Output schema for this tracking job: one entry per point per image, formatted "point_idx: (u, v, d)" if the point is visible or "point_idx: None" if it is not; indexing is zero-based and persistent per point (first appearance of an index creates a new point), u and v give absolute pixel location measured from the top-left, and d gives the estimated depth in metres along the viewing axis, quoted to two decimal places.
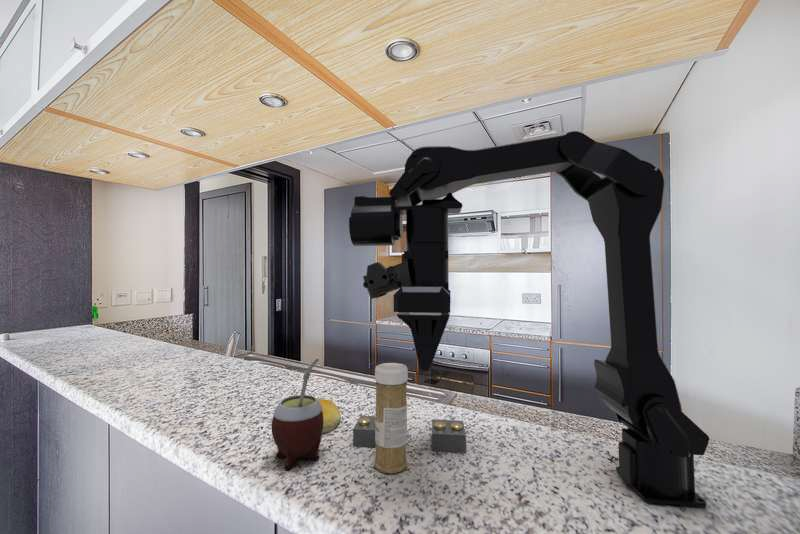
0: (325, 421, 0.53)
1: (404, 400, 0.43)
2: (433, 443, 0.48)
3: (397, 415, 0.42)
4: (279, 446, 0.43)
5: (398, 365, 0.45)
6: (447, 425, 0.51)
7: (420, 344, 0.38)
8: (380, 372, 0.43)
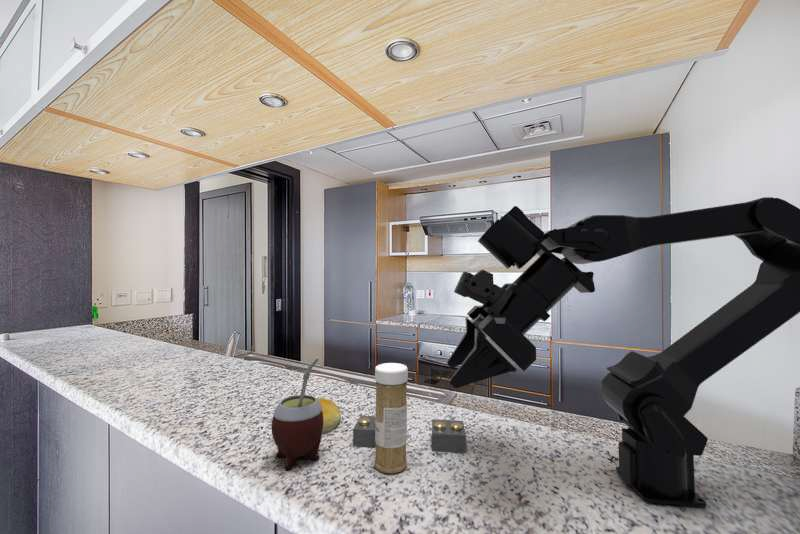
0: (325, 421, 0.53)
1: (404, 400, 0.43)
2: (433, 443, 0.48)
3: (397, 415, 0.42)
4: (279, 446, 0.43)
5: (398, 365, 0.45)
6: (447, 425, 0.51)
7: (469, 365, 0.38)
8: (380, 372, 0.43)
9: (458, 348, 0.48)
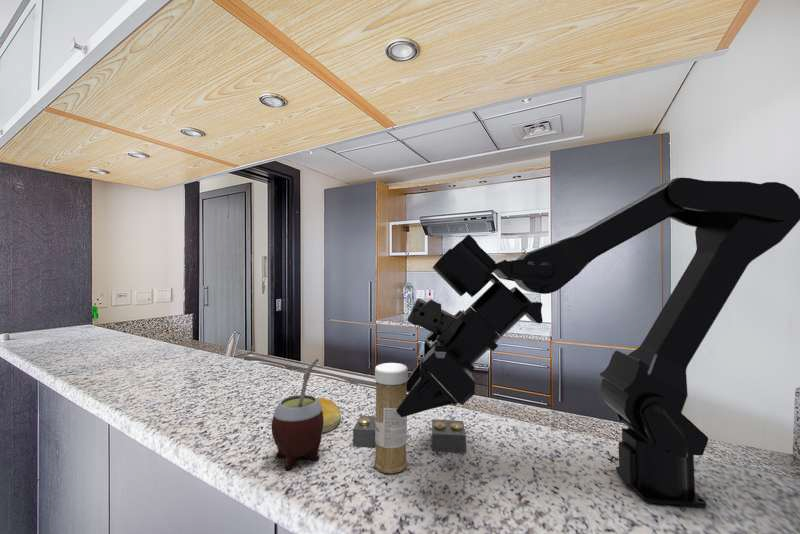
0: (325, 420, 0.53)
1: None
2: (433, 443, 0.48)
3: (397, 415, 0.42)
4: (279, 446, 0.43)
5: (398, 365, 0.45)
6: (447, 425, 0.51)
7: (414, 396, 0.38)
8: (380, 372, 0.43)
9: (415, 372, 0.49)
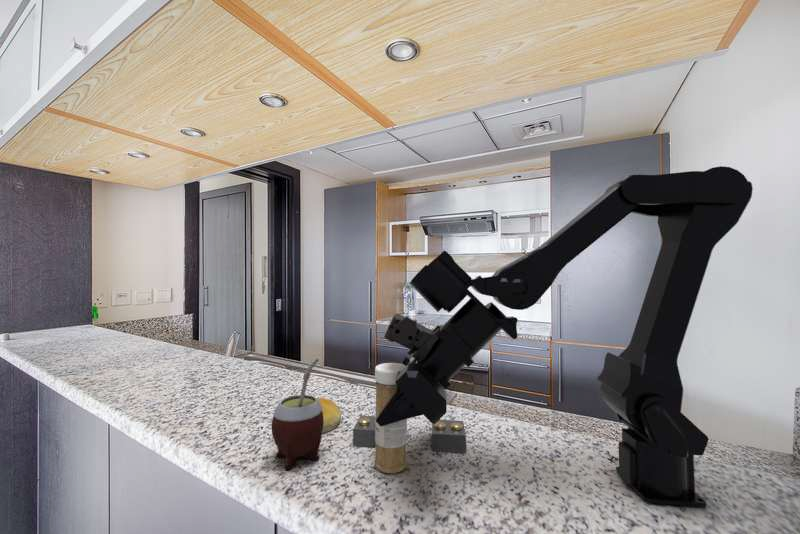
0: (325, 420, 0.54)
1: None
2: (433, 443, 0.48)
3: None
4: (279, 446, 0.43)
5: (398, 365, 0.45)
6: (447, 425, 0.51)
7: (392, 406, 0.41)
8: (380, 372, 0.43)
9: None
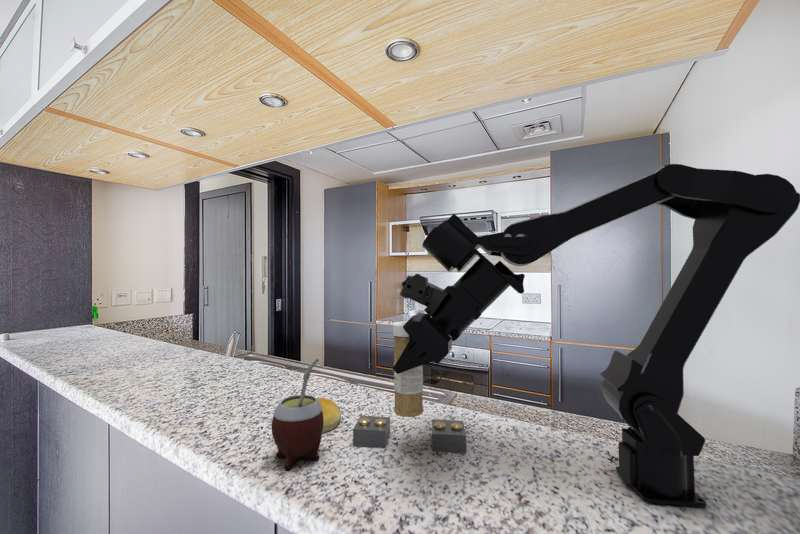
0: (326, 420, 0.54)
1: None
2: (433, 443, 0.48)
3: None
4: (279, 446, 0.43)
5: None
6: (447, 425, 0.51)
7: (406, 355, 0.45)
8: (396, 326, 0.47)
9: None
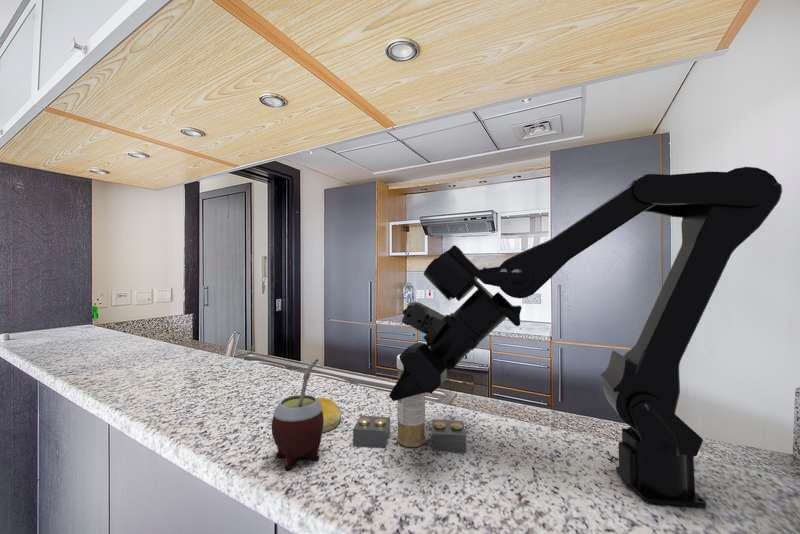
0: (326, 420, 0.54)
1: None
2: (433, 443, 0.48)
3: (413, 397, 0.49)
4: (279, 446, 0.43)
5: None
6: (447, 425, 0.51)
7: (401, 383, 0.46)
8: (399, 359, 0.50)
9: None
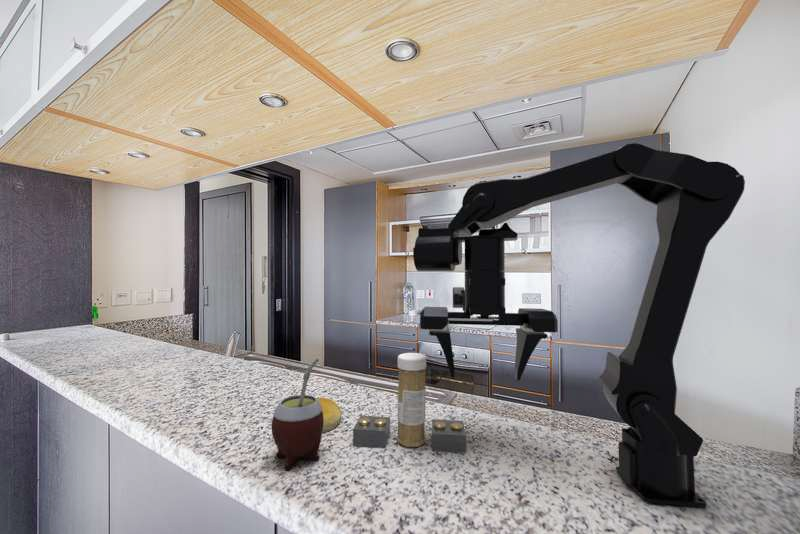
0: (326, 420, 0.54)
1: (421, 385, 0.50)
2: (433, 443, 0.48)
3: (414, 397, 0.49)
4: (279, 446, 0.43)
5: (418, 355, 0.51)
6: (447, 425, 0.51)
7: None
8: (400, 359, 0.50)
9: (515, 358, 0.47)
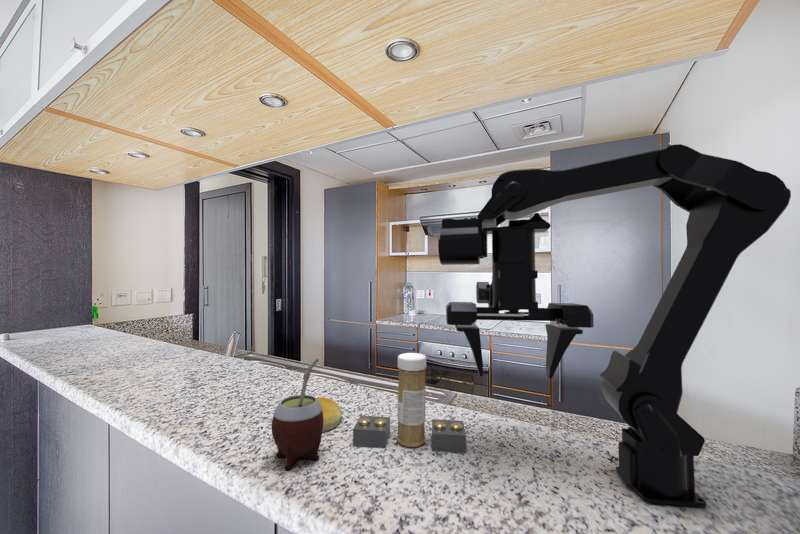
0: (327, 419, 0.54)
1: (421, 385, 0.49)
2: (433, 443, 0.48)
3: (414, 397, 0.49)
4: (279, 446, 0.43)
5: (418, 355, 0.51)
6: (447, 425, 0.51)
7: (472, 350, 0.46)
8: (400, 359, 0.50)
9: (546, 355, 0.45)
